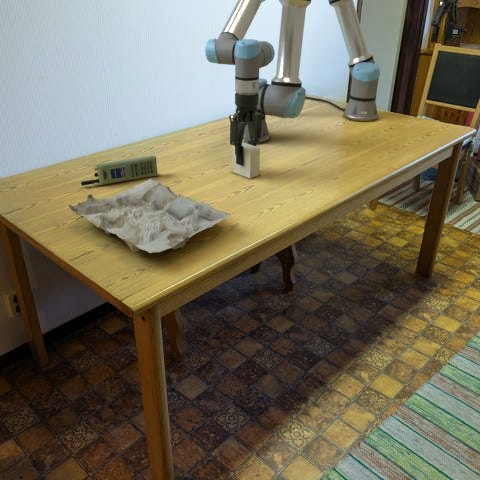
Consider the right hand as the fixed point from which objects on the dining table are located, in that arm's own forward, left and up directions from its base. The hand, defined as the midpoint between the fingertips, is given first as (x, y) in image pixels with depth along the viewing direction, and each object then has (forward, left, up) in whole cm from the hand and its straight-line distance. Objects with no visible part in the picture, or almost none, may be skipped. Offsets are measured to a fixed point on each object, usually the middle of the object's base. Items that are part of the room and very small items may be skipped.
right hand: (441, 41), depth 226 cm
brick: (+58, -102, -33) cm, 122 cm away
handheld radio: (+57, -144, -33) cm, 158 cm away
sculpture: (+91, -136, -33) cm, 167 cm away
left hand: (+58, -102, -28) cm, 121 cm away
